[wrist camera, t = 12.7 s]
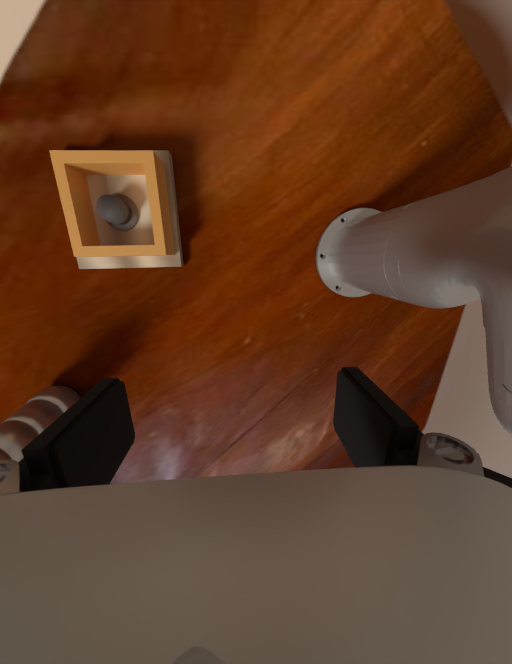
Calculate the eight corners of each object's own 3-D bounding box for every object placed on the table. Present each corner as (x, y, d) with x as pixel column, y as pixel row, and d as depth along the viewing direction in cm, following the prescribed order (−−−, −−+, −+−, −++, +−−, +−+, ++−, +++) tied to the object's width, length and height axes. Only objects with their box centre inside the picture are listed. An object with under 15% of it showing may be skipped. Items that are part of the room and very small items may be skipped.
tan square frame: (163, 163, 30) (153, 150, 27) (174, 255, 34) (166, 254, 30) (73, 164, 30) (49, 150, 26) (93, 256, 33) (74, 256, 29)
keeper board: (171, 155, 31) (160, 139, 27) (183, 266, 36) (175, 267, 31) (60, 155, 31) (30, 138, 26) (85, 268, 35) (64, 270, 31)
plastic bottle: (43, 378, 39) (-142, 491, 20) (86, 383, 40) (-52, 497, 21) (46, 411, 41) (-121, 543, 22) (87, 415, 42) (-40, 547, 23)
